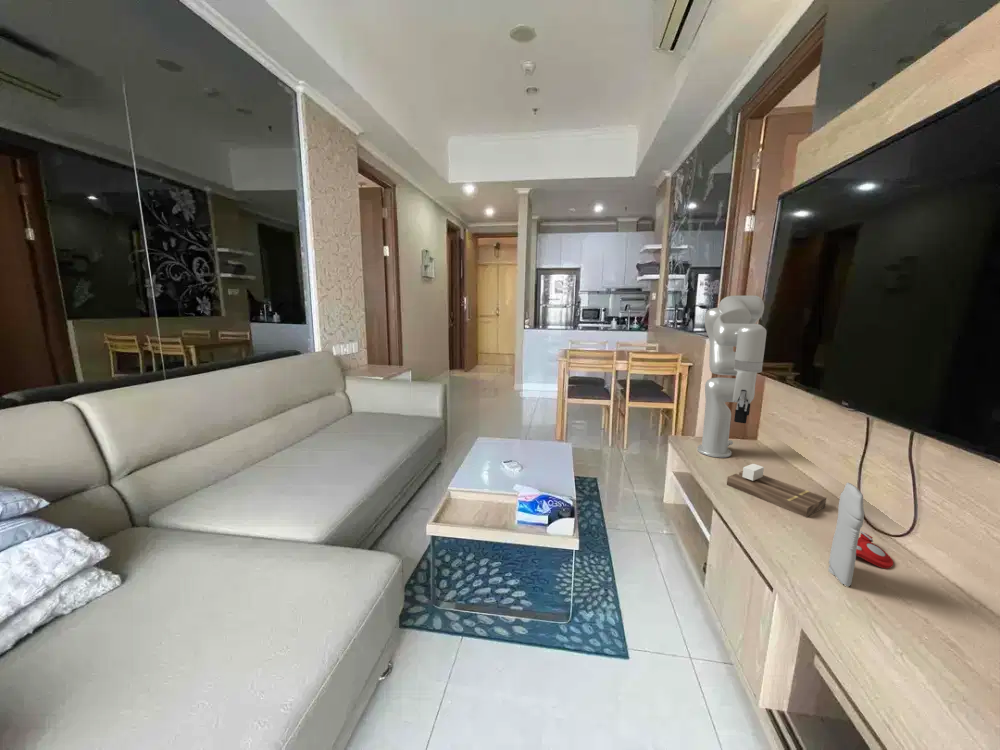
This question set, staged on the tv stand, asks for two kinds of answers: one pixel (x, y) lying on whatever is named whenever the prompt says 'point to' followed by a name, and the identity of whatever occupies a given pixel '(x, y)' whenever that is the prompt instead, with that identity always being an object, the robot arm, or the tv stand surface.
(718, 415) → the robot arm
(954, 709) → the tv stand surface
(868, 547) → the tracker holder
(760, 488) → the fader console
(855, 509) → the tall pale column
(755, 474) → the fader knob
